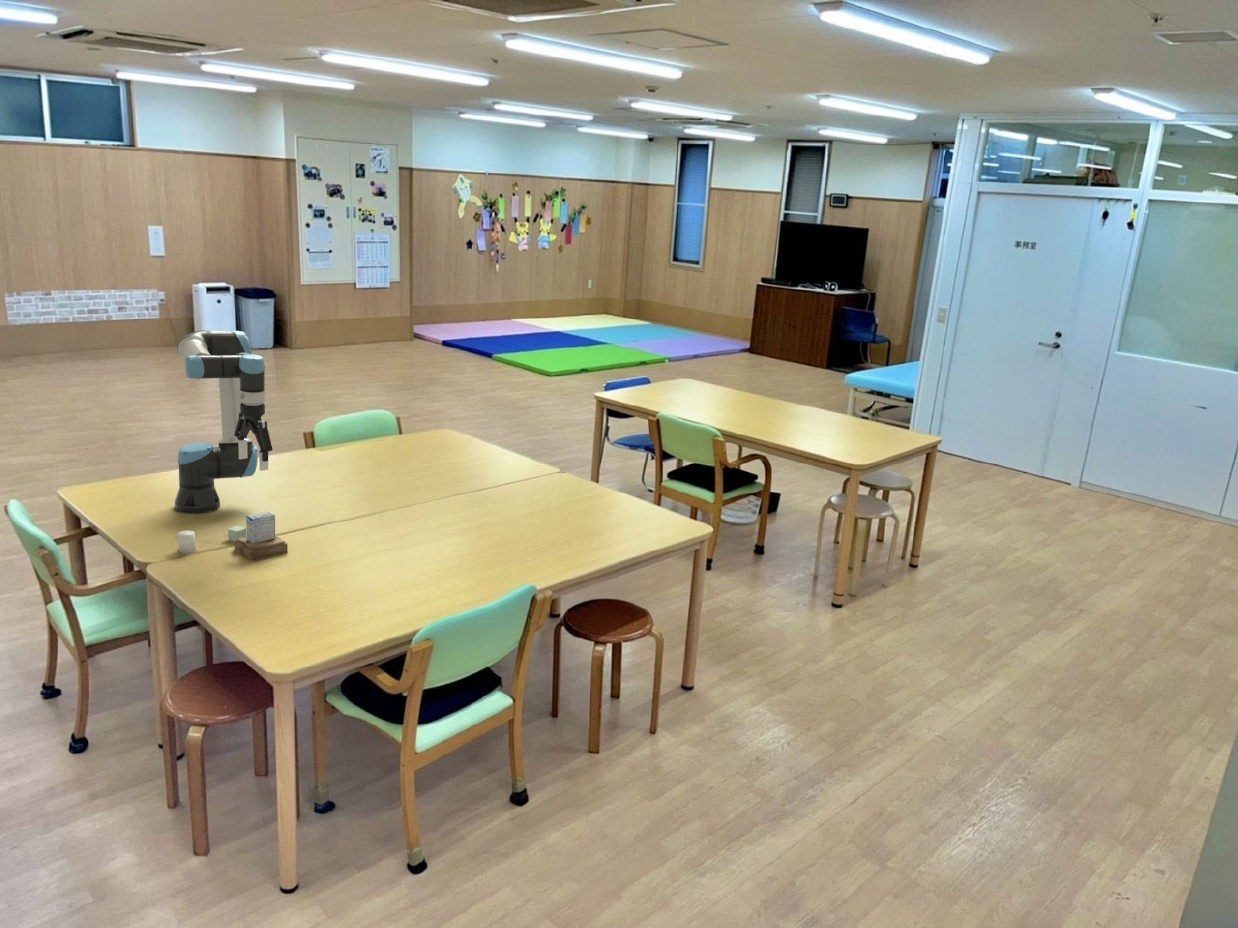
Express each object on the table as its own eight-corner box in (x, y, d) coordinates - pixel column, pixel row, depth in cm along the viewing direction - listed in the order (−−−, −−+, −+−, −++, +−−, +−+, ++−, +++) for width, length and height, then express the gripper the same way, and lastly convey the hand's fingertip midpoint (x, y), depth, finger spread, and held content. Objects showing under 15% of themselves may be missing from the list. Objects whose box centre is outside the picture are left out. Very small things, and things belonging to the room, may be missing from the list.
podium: (234, 549, 299) (234, 538, 298) (268, 541, 308) (268, 530, 307) (253, 560, 292) (253, 549, 290) (287, 552, 300) (287, 541, 299)
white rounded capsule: (175, 549, 294) (175, 532, 293) (191, 546, 298) (190, 529, 296) (182, 554, 291) (182, 537, 290) (198, 551, 295) (197, 533, 293)
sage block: (228, 539, 306) (227, 528, 305) (237, 536, 310) (237, 525, 309) (236, 542, 305) (236, 531, 304) (246, 539, 308) (246, 528, 307)
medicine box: (268, 535, 303) (268, 510, 301) (275, 539, 300) (275, 514, 298) (246, 540, 297) (245, 515, 295) (253, 544, 294) (252, 519, 292)
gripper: (222, 394, 300) (224, 455, 306) (261, 413, 285) (262, 476, 291) (244, 392, 305) (245, 452, 312) (283, 410, 290) (283, 472, 297)
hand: (253, 464), depth 301 cm, fingers open, 13 cm apart
